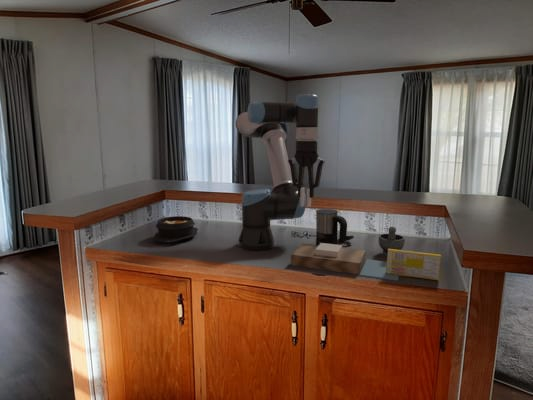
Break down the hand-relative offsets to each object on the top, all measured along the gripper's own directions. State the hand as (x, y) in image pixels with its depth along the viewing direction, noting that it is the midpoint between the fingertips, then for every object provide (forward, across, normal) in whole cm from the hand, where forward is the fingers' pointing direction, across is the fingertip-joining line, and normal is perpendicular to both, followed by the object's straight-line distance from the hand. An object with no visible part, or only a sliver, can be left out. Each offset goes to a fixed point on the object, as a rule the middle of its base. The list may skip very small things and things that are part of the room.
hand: (305, 206), depth 138 cm
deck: (+20, +9, 0) cm, 22 cm away
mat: (+20, +27, 0) cm, 34 cm away
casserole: (+21, -62, +7) cm, 66 cm away
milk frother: (+21, +6, +23) cm, 32 cm away
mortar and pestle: (+21, +29, +18) cm, 40 cm away
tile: (+16, +9, 0) cm, 19 cm away
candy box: (+20, +37, -3) cm, 42 cm away
